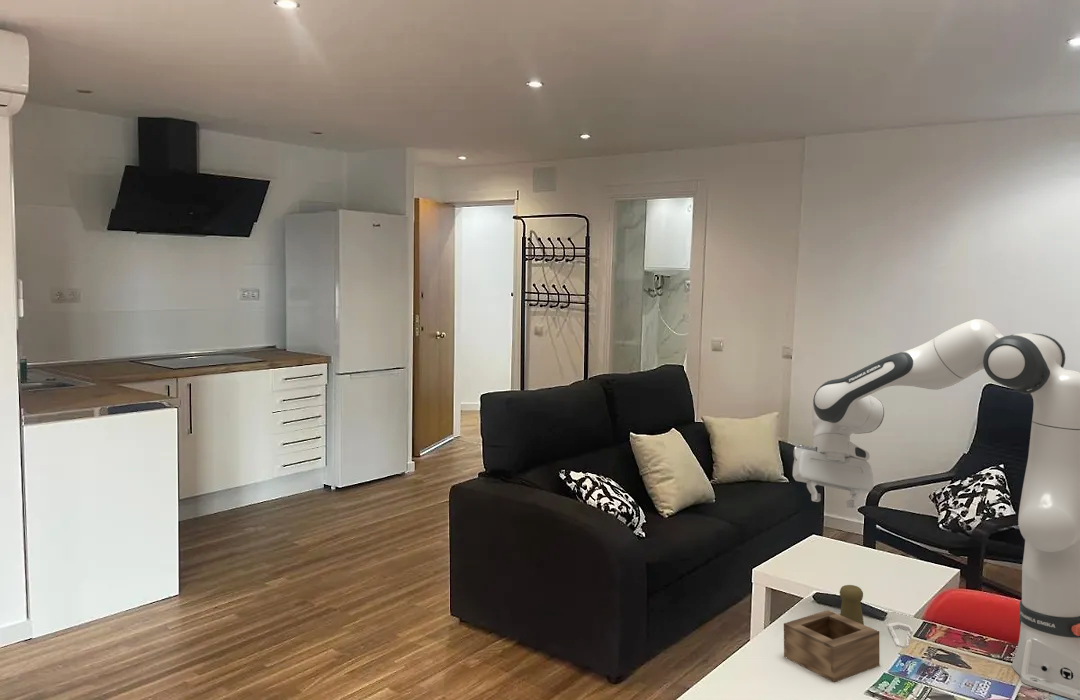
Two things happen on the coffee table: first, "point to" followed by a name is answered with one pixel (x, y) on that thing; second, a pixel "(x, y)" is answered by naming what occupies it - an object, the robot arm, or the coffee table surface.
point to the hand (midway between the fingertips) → (833, 504)
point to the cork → (851, 603)
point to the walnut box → (831, 645)
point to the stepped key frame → (901, 626)
